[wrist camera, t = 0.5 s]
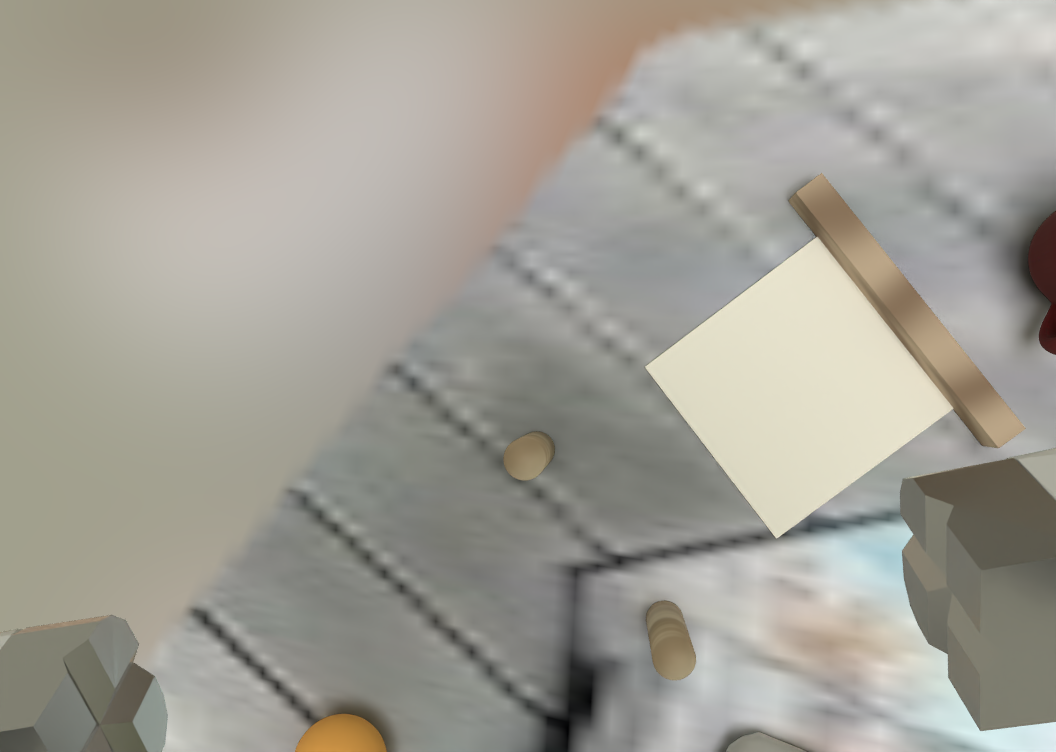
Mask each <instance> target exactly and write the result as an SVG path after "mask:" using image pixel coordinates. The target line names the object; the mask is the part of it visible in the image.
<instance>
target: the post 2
mask: <svg viewBox="0 0 1056 752" xmlns="http://www.w3.org/2000/svg"><path fill="white" fill-rule="evenodd" d="M646 623H647V629H648V635H649V641H650V647H651V653H652V659H653V664H654V667H655V669H656V671H657V672H658V673H659V674H660V675H661V676H663V677H664V678H666V679H669V680H680V679H683V678H685V677H687V676H688V675H689V674H690V673H691V672H692V671H693V669H694V667H695V663H696V655H695V652H694V649H693V646H692V643H691V640H690V637H689V633H688V630H687V627H686V624H685V621H684V618H683V615H682V612H681V610H680V609H679V608H678V606H676V605H675V604H674V603H672V602H669V601H659V602H656V603H654V604H653V605H652V606H651V607H650V608H649V610H648V612H647V615H646Z"/></svg>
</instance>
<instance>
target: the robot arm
mask: <svg viewBox="0 0 1056 752" xmlns="http://www.w3.org/2000/svg"><path fill="white" fill-rule="evenodd" d="M900 514H901V516H902V517H903V519H904V520H905V522H906V523H907V525H908V527H909V528H910V530H911V531H912V533H913V534H914V535H913V536H912V538H911V539H910V540H909V542H908V543H907V545H906V546H905V547H904V549H903V550H902V559H903V573H904V581H905V585H906V590H907V594H908V598H909V602H910V606H911V609H912V611H913V614H914V616H915V618H916V621H917V623H918V626H919V627H920V629H921V631H922V633H923V635H924V636H925V638H926V640H927V642H928V643H929V644H930V645H932V646H933V647H935V648H937V649H939V650H941V651H943V652H945V653H947V654H948V678H949V679H950V681H951V683H952V684H953V686H954V688H955V690H956V691H957V693H958V695H959V696H960V698H961V700H962V701H963V703H964V705H965V706H966V708H967V710H968V711H969V713H970V715H971V716H972V718H973V720H974V721H975V723H976V725H977V726H978V728H979V730H980V731H985V730H993V729H1001V728H1009V727H1017V726H1025V725H1034V724H1042V723H1050V722H1056V448H1053V449H1048V450H1043V451H1038V452H1034V453H1029V454H1024V455H1019V456H1014V457H1009V458H1007V459H1005V460H1000V461H994V462H989V463H984V464H979V465H973V466H968V467H963V468H957V469H952V470H947V471H941V472H936V473H931V474H925V475H920V476H915V477H909V478H904V479H903V481H902V485H901V490H900ZM138 646H139V643H138V641H137V640H136V638H135V636H134V634H133V632H132V631H131V629H130V627H129V625H128V623H127V621H126V620H124V619H121V618H119V617H116V616H114V615H107V616H101V617H94V618H88V619H81V620H74V621H68V622H61V623H55V624H48V625H41V626H34V627H28V628H25V629H15V630H9V631H4V632H0V752H162V750H163V748H164V745H165V740H166V729H167V718H168V714H167V710H166V705H165V700H164V695H163V692H162V690H161V688H160V686H159V684H158V682H157V680H156V678H155V676H154V675H152V674H151V673H149V672H148V671H146V670H144V669H143V668H141V667H140V666H138V665H137V664H135V663H133V661H134V658H135V655H136V652H137V649H138Z"/></svg>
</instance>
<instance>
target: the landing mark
mask: <svg viewBox="0 0 1056 752" xmlns="http://www.w3.org/2000/svg"><path fill="white" fill-rule="evenodd" d="M645 368H646V370H647V371H648V372H649V373H650V375H651V376H652V377H653V379H654V380H655V381H656V383H657V384H658V385H659V386H660V388H661V389H662V390H663V392H664V393H665V394H666V396H667V397H668V398H669V400H670V401H671V402H672V403H673V405H674V406H675V407H676V409H677V410H678V411H679V413H680V414H681V415H682V416H683V418H684V419H685V420H686V422H687V423H688V424H689V426H690V427H691V428H692V429H693V431H694V432H695V433H696V435H697V436H698V437H699V439H700V440H701V441H702V443H703V444H704V445H705V446H706V448H707V449H708V450H709V452H710V453H711V454H712V456H713V457H714V458H715V459H716V461H717V462H718V463H719V465H720V466H721V467H722V469H723V470H724V471H725V472H726V474H727V475H728V476H729V478H730V479H731V480H732V482H733V483H734V484H735V485H736V487H737V488H738V489H739V491H740V492H741V493H742V495H743V496H744V497H745V499H746V500H747V501H748V502H749V504H750V505H751V506H752V508H753V509H754V510H755V512H756V513H757V514H758V515H759V517H760V518H761V519H762V521H763V522H764V523H765V525H766V526H767V527H768V528H769V530H770V531H771V532H772V534H773V535H774V536H775V538H776V539H777V538H778V537H779V536H781V535H782V534H783V533H785V532H786V531H788V530H789V529H790V528H792V527H793V526H794V525H796V524H797V523H798V522H800V521H801V520H803V519H804V518H805V517H807V516H808V515H809V514H811V513H812V512H813V511H815V510H816V509H818V508H819V507H820V506H822V505H823V504H824V503H826V502H827V501H828V500H830V499H831V498H832V497H834V496H835V495H837V494H838V493H839V492H841V491H842V490H843V489H845V488H846V487H847V486H849V485H850V484H852V483H853V482H854V481H856V480H857V479H858V478H860V477H861V476H862V475H864V474H865V473H867V472H868V471H869V470H871V469H872V468H873V467H875V466H876V465H877V464H879V463H880V462H881V461H883V460H884V459H886V458H887V457H888V456H890V455H891V454H892V453H894V452H895V451H896V450H898V449H899V448H901V447H902V446H903V445H905V444H906V443H907V442H909V441H910V440H911V439H913V438H914V437H916V436H917V435H918V434H920V433H921V432H922V431H924V430H925V429H926V428H928V427H929V426H930V425H932V424H933V423H935V422H936V421H937V420H939V419H940V418H941V417H943V416H944V415H945V414H947V413H948V412H950V411H951V410H952V409H954V408H953V407H952V406H951V404H950V403H949V402H948V401H947V399H946V398H945V397H944V396H943V394H942V393H941V392H940V390H939V389H938V388H937V387H936V385H935V384H934V383H933V382H932V380H931V379H930V378H929V377H928V375H927V374H926V373H925V372H924V370H923V369H922V368H921V367H920V365H919V364H918V363H917V361H916V360H915V359H914V358H913V356H912V355H911V354H910V353H909V351H908V350H907V349H906V348H905V346H904V345H903V344H902V343H901V341H900V340H899V339H898V337H897V336H896V335H895V334H894V332H893V331H892V330H891V329H890V327H889V326H888V325H887V324H886V322H885V321H884V320H883V319H882V317H881V316H880V315H879V314H878V312H877V311H876V310H875V308H874V307H873V306H872V305H871V303H870V302H869V301H868V300H867V298H866V297H865V296H864V295H863V293H862V292H861V291H860V290H859V288H858V287H857V286H856V285H855V283H854V282H853V281H852V279H851V278H850V277H849V276H848V274H847V273H846V272H845V271H844V269H843V268H842V267H841V266H840V264H839V263H838V262H837V261H836V259H835V258H834V257H833V256H832V254H831V253H830V252H829V250H828V249H827V248H826V247H825V245H824V244H823V243H822V242H821V240H820V239H819V238H818V237H816V238H815V239H813V240H812V241H811V242H809V243H808V244H807V245H805V246H804V247H803V248H801V249H800V250H799V251H797V252H796V253H795V254H793V255H792V256H791V257H790V258H788V259H787V260H786V261H784V262H783V263H782V264H780V265H779V266H778V267H776V268H775V269H774V270H772V271H771V272H770V273H768V274H767V275H766V276H764V277H763V278H762V279H760V280H759V281H758V282H756V283H755V284H754V285H752V286H751V287H750V288H749V289H747V290H746V291H745V292H743V293H742V294H741V295H739V296H738V297H737V298H735V299H734V300H733V301H731V302H730V303H729V304H727V305H726V306H725V307H723V308H722V309H721V310H719V311H718V312H717V313H715V314H714V315H713V316H711V317H710V318H709V319H708V320H706V321H705V322H704V323H702V324H701V325H700V326H698V327H697V328H696V329H694V330H693V331H692V332H690V333H689V334H688V335H686V336H685V337H684V338H682V339H681V340H680V341H678V342H677V343H676V344H674V345H673V346H672V347H671V348H669V349H668V350H667V351H665V352H664V353H663V354H661V355H660V356H659V357H657V358H656V359H655V360H653V361H652V362H651V363H649V364H648V365H647V366H645Z"/></svg>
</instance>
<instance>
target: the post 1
mask: <svg viewBox="0 0 1056 752" xmlns="http://www.w3.org/2000/svg"><path fill="white" fill-rule="evenodd" d="M554 453H555V446H554V443H553V441H552V439H551V438H550V437H549V436H548V435H547V434H545V433H543V432H537V431H536V432H531V433H529V434H527V435H525V436H523V437H521V438H519V439H517V440H515V441H513V442H512V443H511V444H510V445H509V446H508V447H507V448H506V450H505V453H504V465H505V468H506V470H507V471H508V473H509V474H510V475H511V476H513V477H514V478H516V479H519V480H531V479H533V478H535V477H537V476H538V475H539V474H540V473H541V472H542V471H543V470H544V468H545V467H546V466H547V465H548V464H549V463H550V461H551V460H552V458H553V456H554Z"/></svg>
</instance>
